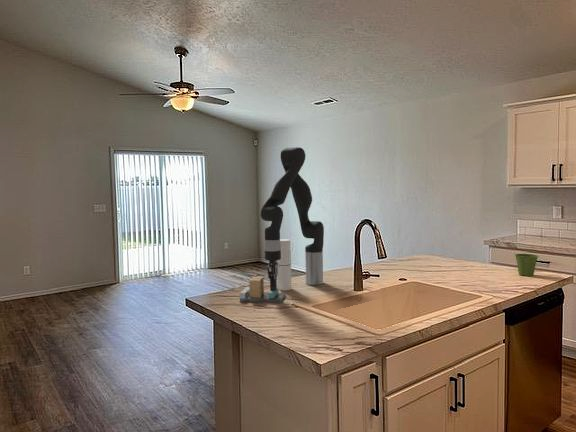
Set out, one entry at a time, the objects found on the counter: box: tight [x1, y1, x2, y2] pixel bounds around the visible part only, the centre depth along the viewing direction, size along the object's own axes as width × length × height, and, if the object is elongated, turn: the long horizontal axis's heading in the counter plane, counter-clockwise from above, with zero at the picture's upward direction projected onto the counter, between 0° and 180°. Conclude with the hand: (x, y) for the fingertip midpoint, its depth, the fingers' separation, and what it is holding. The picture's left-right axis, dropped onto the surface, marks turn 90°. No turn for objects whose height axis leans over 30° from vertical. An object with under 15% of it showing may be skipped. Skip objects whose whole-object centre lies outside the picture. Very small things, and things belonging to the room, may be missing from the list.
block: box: [248, 276, 265, 298], centre depth 202 cm, size 8×5×8 cm, turn 171°
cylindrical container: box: [277, 238, 292, 291], centre depth 219 cm, size 7×7×25 cm
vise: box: [239, 286, 286, 304], centre depth 202 cm, size 12×19×4 cm, turn 80°
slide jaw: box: [268, 275, 280, 298], centre depth 200 cm, size 11×3×10 cm, turn 170°
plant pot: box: [514, 253, 540, 277], centre depth 240 cm, size 12×12×11 cm
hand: (273, 286), depth 200 cm, fingers closed on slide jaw, 3 cm apart
